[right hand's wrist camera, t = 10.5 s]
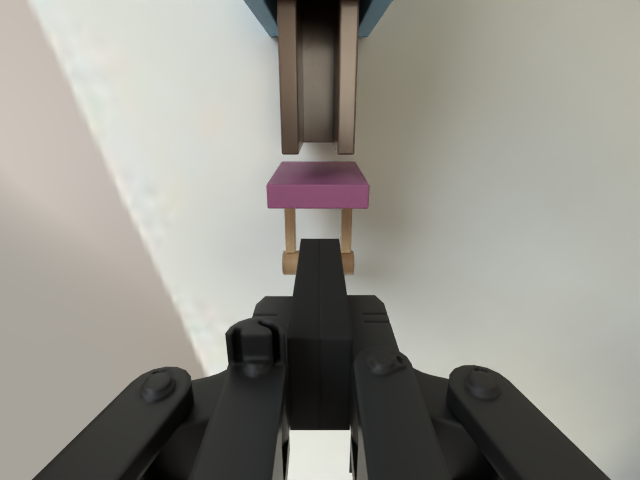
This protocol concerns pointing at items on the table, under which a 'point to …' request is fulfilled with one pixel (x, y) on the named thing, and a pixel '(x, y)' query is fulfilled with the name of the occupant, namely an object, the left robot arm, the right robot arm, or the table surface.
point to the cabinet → (370, 12)
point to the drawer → (318, 116)
